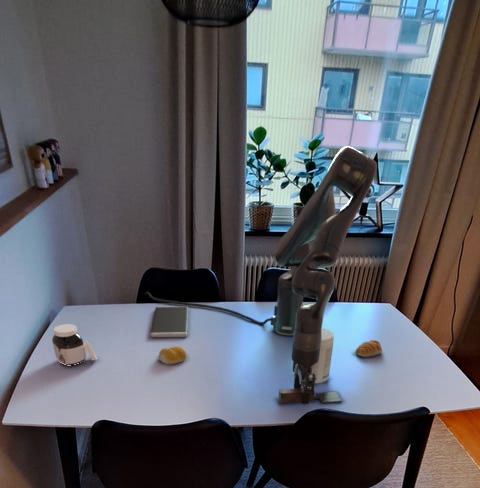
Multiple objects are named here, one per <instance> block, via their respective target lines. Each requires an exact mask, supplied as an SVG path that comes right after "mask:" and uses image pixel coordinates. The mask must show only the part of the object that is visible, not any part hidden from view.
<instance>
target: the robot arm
mask: <svg viewBox="0 0 480 488" xmlns="http://www.w3.org/2000/svg"><path fill="white" fill-rule="evenodd" d="M377 169H378V164H377V162H376V161H375V160H374V159H373V158H371V157H369V156H368V155H366V154H364V153H363V152H361V151H359V150H357V149H356V148H353V147H351V146H344V147H342V148H341V149H340V150H339V151H338V152H337V154H336V155H335V157H334V158H333V160H332V162H331V163H330V166H329V167H328V169H327V171H326V172H325V174H324V176H323V178H322V180H321V181H320V183H319V185H318V186H317V188H316V190H315V191H314V192H313V194H312V196H311V197H310V198H309V200H308V201H307V202H306V204H305V205H304V206H303V208H302V209H301V211H300V213H299V215H298V216H297V218H296V219H295V220H294V221H293V223H292V224H291V226H290V228H288V230H287V231H286V232H285V233H284V234H283V235H282V236H281V237H280V239H279V240H278V242H277V243H276V245H275V250H274V258H275V259H274V260H275V261H276V263H277V264H278V265H279V267H282V268H283V267H284V268H285V267H286V268H289V267H290V269H289V270H287V272H284V273H282V274H281V275H280V276H279V277H278V283H277V284H278V285H277V299H276V304H275V305H274V308H273V309H274V310H273V315H272V316H270V318H266V319H265V320H264V321H259V320H256V319H254V318H252V317H250V316H248V315H245V314H243V313H241V312H238V311H235V310H233V309H230V308H225V307H220V306H216V305H209V304H201V303H193V302H185V301H177V300H176V301H174V300H167V299H161V298H156V297H154V296H153V295H152V293H150V292H149V291H146V292H145V293H144V296H147V295H148V297H149V298H150V299H151V300H152V301H155V302H160V303H166V304H174V305H183V306H191V307H201V308H207V309H214V310H219V311H224V312H227V313H231V314H234V315H236V316H239V317H241V318H243V319H246V320H249V321H251V322H252V323H254V324H257V325H266V324H267V323H268V322H270V326H272V328H273V329H272V331H274V332H275V333H277V334H279V335H281V336H287V337H289V336H293V338H292V346H291V347H292V348H291V361H292V362H293V363H292V369H291V371H292V373H293V378H294V379H293V380H294V381H293V389H294V388H302V396H301V402H300V404H301V405H309V404H310V402H309V399H310V394H314V391H315V384H316V383H315V377H316V376H315V374H313V369H312V366H313V365H314V364H316V363H317V362H318V361H319V355H320V347H321V339H322V328H323V322H324V316H325V312H326V309H327V306H328V303H329V302H330V300H331V299H330V298H331V296H332V295H333V292H334V289H335V286H336V279H335V276H334V274H333V272H331V271H329V270H324V268H330V267H332V266H334V265H336V263H337V262H338V259H339V255H340V253H341V251H342V247H343V244H344V241H345V239H346V236H347V235H348V232H349V230H350V229H351V226H352V223H353V222H354V221H355V218H356V216H357V214H358V212H359V210H360V208H361V207H362V205H363V202H364V200H365V199H366V196H367V194H368V192H369V190H370V188H371V186H372V185H373V182H374V179H375V177H376V174H377ZM334 187H335V188H337V189H340V190H341V191H344V192H345V193H347V194H349V195H351V197H350V199H349V201H348V202H347V203H346V204H345V205H344V206H343V207H341V208H340V209H339V210H338V211H336V202H335V195H334ZM312 241H313V244H312V246H311V245H310V243H311V242H312ZM310 246H311V247H310ZM322 268H323V269H322ZM304 298H309V299H314V300H316V302H315V303H306V304H303V303H304V302H303V301H304ZM304 380H305V381H304ZM307 388H309V389H307Z"/></svg>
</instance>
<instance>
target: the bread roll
mask: <svg viewBox="0 0 480 488" xmlns="http://www.w3.org/2000/svg"><path fill="white" fill-rule="evenodd" d="M186 358H187V352H186V349H184V348H183V347H181V346H171V347H167V348H166V347H165V348H162V349H161V350H160V351H159V354H158V359H159V360H160V362H162V363H163V364H165V365H174V364H177V363H182V362H184V361H185V360H186Z"/></svg>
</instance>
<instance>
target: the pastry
mask: <svg viewBox="0 0 480 488" xmlns="http://www.w3.org/2000/svg"><path fill="white" fill-rule="evenodd" d="M382 352H383V348H382V345H381V342H380V341H378V340H376V339H370V340H367V341H364V342H362V343H361V344H359V346H358V347H357V348H356V349H355V355H358V356H360V357H364V358H368V357H373V356H374V357H375V356H377V355H380V354H381V353H382Z"/></svg>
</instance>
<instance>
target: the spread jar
mask: <svg viewBox="0 0 480 488" xmlns="http://www.w3.org/2000/svg"><path fill="white" fill-rule="evenodd" d="M53 333H54V335H53V336H52V340H51V341H52V347H53V351H54V355H55V358H56V360H57V359H58V360H59V361H60V362H62V363H64V364H66V365H64V364H62V363H60V362H59V361H58V360H57V361H58V363H59V364H60V365H61V366H63V367H66V368H73V367H77V366H80V365H81V364H83V363H84V362H85V361H86V358H87V354H88V356H89V358H90V359H91V361H93V360H95V361H98V358H97V357H98V356H97V355H96V353H95V351H94V349H93V348H92V346H91V344H90V343H89V341H88V340H85V341H84V340H83V338H82V336H81V335H80V334H79V333H78V328H77V326H76V325H74V324H71V323H66V324H64V323H63V324H59V325H56V326H55V327H54V328H53ZM86 352H87V354H86ZM94 354H95V355H94ZM84 360H85V361H84ZM82 361H83V362H82ZM95 361H94V362H95ZM80 362H81V363H80ZM77 363H79V364H77ZM74 364H76V365H74ZM67 365H71V366H67Z"/></svg>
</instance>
